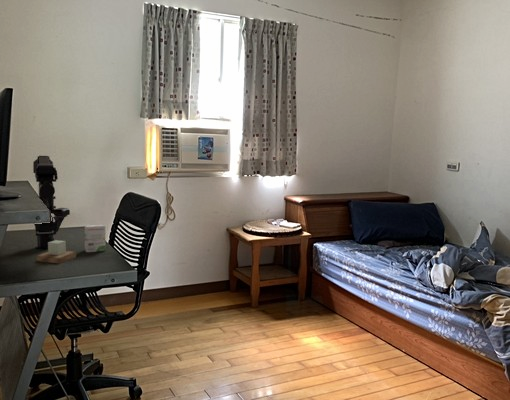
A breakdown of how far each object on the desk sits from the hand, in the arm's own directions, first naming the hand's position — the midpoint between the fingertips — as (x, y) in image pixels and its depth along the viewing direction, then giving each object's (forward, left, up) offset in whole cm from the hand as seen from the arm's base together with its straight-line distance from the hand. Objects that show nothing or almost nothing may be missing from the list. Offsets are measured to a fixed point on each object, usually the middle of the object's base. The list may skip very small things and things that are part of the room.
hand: (47, 230), depth 208 cm
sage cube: (+4, +1, -10) cm, 10 cm away
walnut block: (+4, +1, -13) cm, 13 cm away
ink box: (+11, +19, -12) cm, 25 cm away
